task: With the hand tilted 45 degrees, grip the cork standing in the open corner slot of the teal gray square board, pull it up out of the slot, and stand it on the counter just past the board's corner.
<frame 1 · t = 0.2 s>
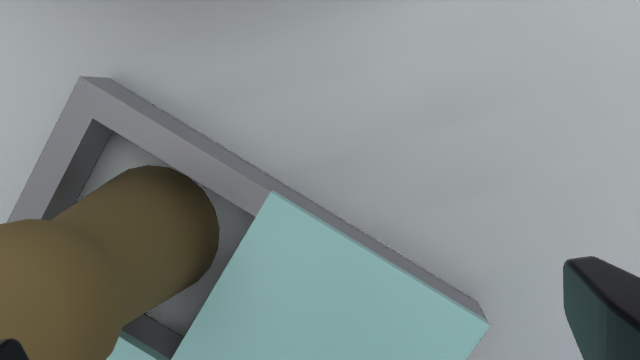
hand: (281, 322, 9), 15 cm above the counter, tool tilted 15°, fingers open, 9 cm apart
teal gray square board: (192, 359, 26), on the counter
cork: (156, 229, 25), resting in teal gray square board
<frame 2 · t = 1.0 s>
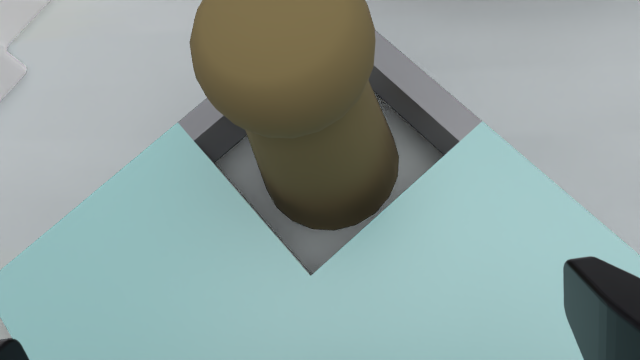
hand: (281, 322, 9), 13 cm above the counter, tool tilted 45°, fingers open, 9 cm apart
teal gray square board: (319, 310, 22), on the counter
cork: (330, 165, 24), resting in teal gray square board
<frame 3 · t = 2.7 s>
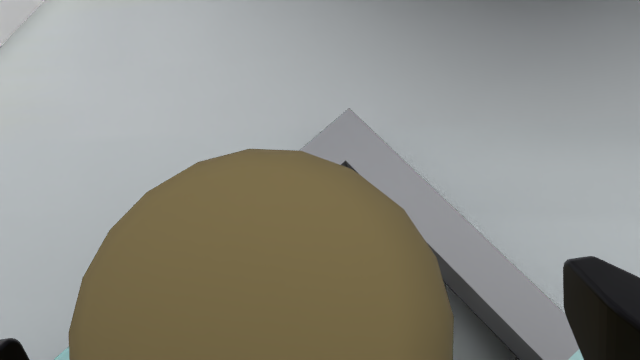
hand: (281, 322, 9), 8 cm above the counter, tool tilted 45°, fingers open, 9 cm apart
cork: (344, 359, 16), resting in teal gray square board
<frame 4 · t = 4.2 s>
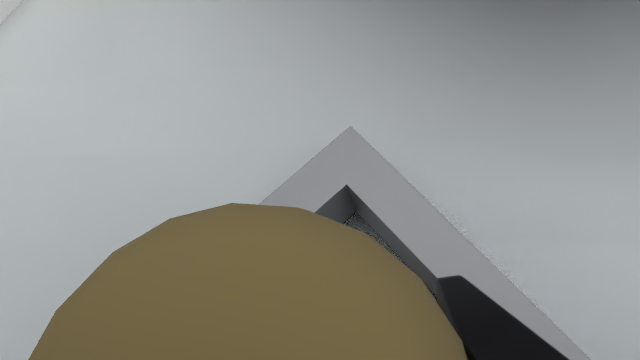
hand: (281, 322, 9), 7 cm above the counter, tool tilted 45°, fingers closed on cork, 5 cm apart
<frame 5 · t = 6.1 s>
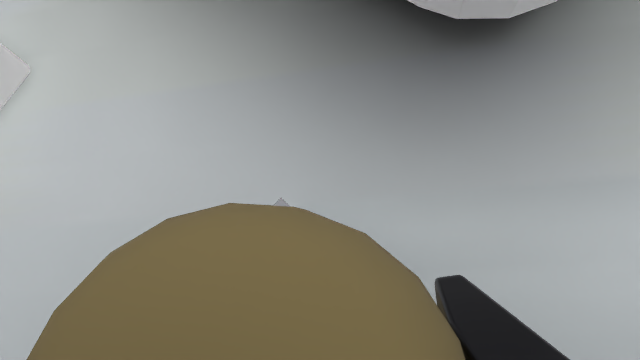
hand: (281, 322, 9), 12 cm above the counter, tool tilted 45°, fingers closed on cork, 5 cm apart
when the fingers open (8 cm above the counter, at t = 8.3 s): cork drops 1 cm, on the counter.
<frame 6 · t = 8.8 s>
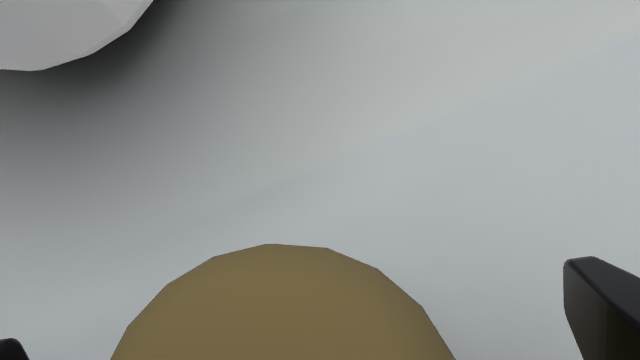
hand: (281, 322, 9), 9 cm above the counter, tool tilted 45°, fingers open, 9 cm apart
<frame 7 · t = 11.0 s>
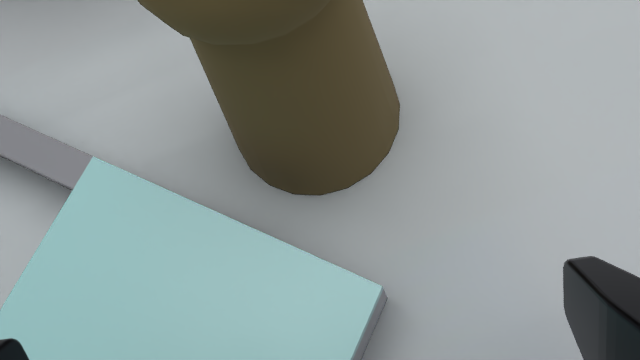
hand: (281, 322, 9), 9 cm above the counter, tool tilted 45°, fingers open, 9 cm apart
cork: (316, 118, 20), on the counter
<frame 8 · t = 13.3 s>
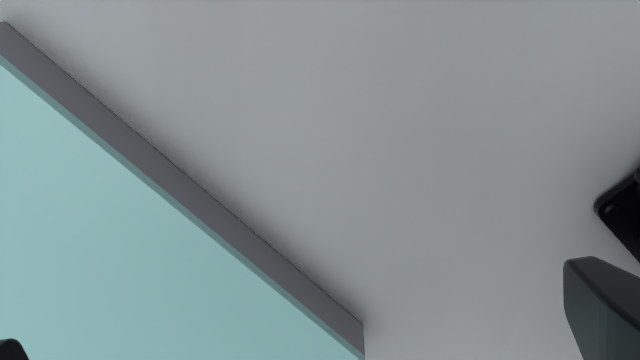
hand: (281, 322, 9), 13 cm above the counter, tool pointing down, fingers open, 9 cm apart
teal gray square board: (73, 318, 25), on the counter
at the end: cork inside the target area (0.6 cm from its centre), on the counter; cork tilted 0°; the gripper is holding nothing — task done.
